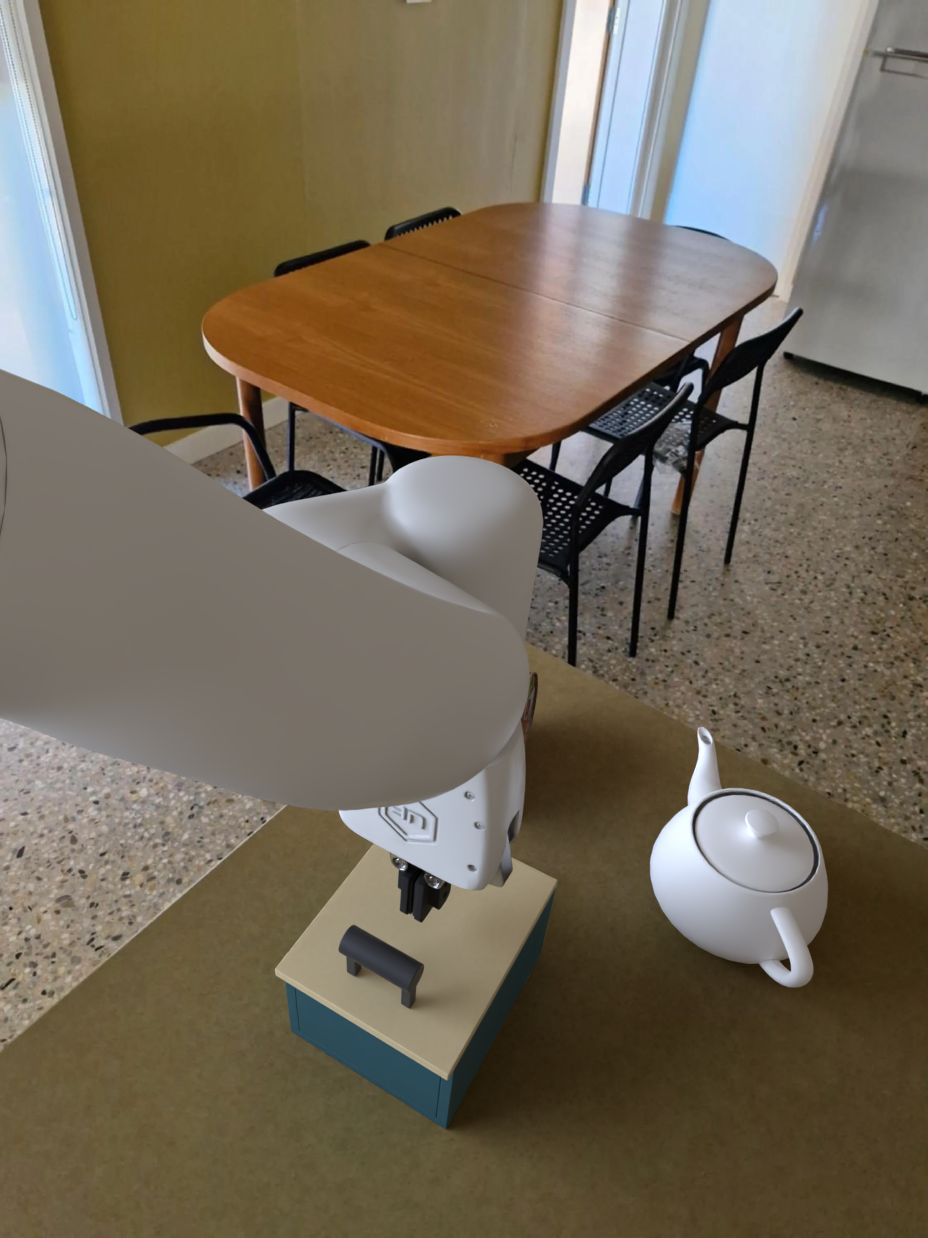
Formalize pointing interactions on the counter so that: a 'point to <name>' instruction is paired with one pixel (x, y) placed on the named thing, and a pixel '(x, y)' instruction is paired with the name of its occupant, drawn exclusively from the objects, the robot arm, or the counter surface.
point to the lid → (415, 957)
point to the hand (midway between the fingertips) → (423, 900)
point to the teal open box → (395, 1067)
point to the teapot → (741, 874)
